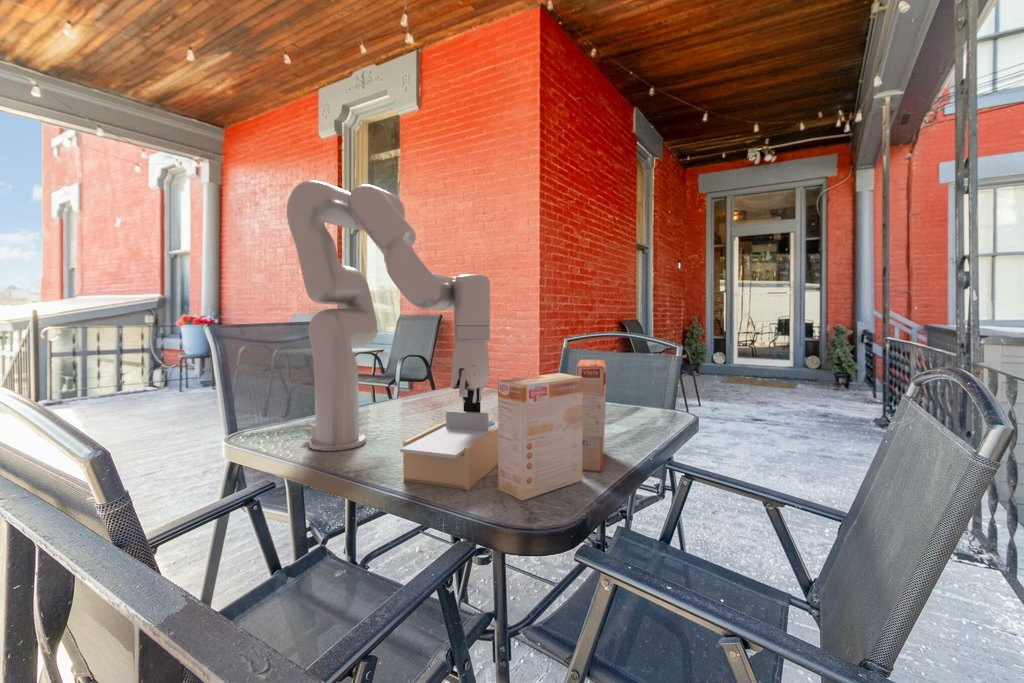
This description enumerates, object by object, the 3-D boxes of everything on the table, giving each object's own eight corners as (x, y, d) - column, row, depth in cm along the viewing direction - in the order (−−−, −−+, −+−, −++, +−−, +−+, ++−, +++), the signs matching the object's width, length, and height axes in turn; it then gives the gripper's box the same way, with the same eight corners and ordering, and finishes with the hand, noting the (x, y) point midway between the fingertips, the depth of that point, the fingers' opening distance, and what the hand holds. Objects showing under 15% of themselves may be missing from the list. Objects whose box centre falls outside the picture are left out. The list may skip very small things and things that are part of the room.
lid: (400, 452, 83) (400, 429, 82) (445, 429, 99) (445, 409, 99) (455, 458, 79) (455, 434, 79) (492, 433, 96) (492, 413, 95)
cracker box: (604, 473, 91) (606, 365, 89) (573, 471, 92) (574, 365, 91) (604, 452, 104) (606, 358, 103) (577, 450, 106) (578, 358, 104)
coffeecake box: (556, 471, 92) (557, 372, 91) (584, 481, 86) (585, 376, 85) (496, 489, 82) (496, 379, 81) (522, 502, 77) (523, 384, 76)
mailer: (403, 481, 86) (403, 441, 86) (447, 453, 103) (447, 420, 103) (468, 489, 82) (468, 448, 81) (503, 459, 99) (503, 424, 98)
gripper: (469, 332, 106) (469, 412, 107) (439, 335, 92) (439, 427, 93) (500, 333, 104) (500, 414, 105) (474, 336, 90) (474, 430, 91)
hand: (472, 420), depth 99 cm, fingers closed
